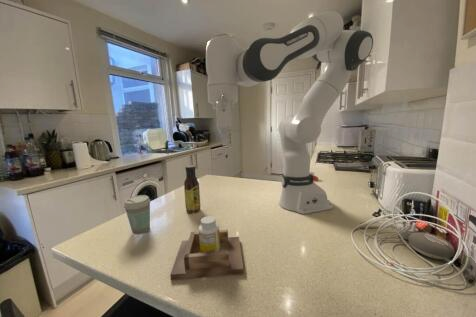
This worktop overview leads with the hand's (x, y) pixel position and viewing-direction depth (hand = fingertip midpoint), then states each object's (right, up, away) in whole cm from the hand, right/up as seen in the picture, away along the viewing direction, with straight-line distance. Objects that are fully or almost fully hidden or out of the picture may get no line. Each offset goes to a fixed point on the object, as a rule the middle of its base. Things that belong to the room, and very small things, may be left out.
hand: (225, 143), depth 62 cm
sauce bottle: (-15, -28, +25) cm, 40 cm away
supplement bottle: (-4, -32, -5) cm, 32 cm away
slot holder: (-4, -33, -5) cm, 34 cm away
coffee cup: (-31, -31, +11) cm, 45 cm away
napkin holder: (+45, -19, +62) cm, 79 cm away
